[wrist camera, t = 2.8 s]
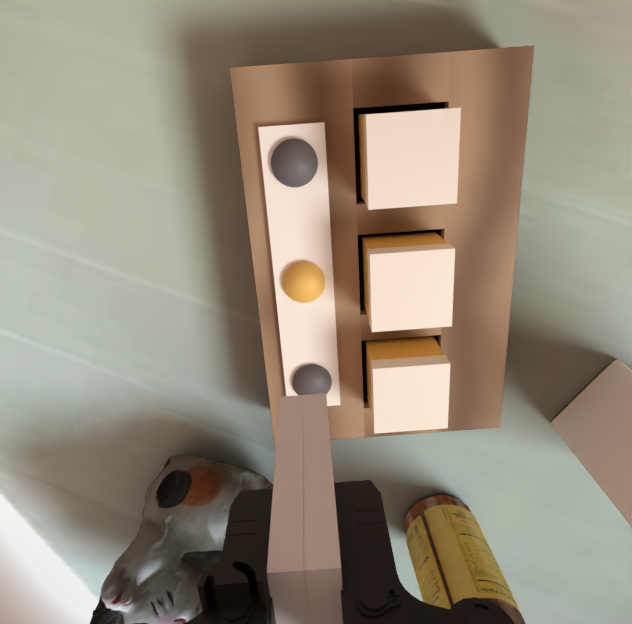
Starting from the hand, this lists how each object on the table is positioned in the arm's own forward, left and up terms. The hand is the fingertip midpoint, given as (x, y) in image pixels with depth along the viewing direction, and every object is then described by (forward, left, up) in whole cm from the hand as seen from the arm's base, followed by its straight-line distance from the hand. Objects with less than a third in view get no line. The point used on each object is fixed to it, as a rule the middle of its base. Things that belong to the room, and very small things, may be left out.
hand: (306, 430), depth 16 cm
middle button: (-6, 0, -16) cm, 17 cm away
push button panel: (0, 0, -15) cm, 15 cm away
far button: (-6, +7, -16) cm, 19 cm away
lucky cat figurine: (+9, +22, -20) cm, 31 cm away
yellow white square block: (-6, -7, -16) cm, 19 cm away
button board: (-5, 0, -19) cm, 20 cm away
